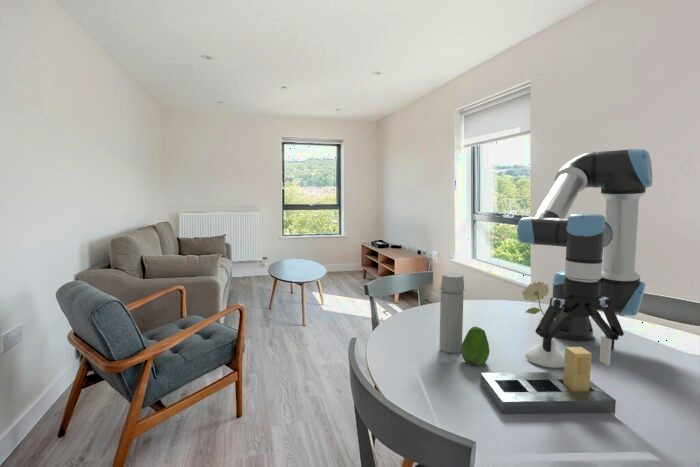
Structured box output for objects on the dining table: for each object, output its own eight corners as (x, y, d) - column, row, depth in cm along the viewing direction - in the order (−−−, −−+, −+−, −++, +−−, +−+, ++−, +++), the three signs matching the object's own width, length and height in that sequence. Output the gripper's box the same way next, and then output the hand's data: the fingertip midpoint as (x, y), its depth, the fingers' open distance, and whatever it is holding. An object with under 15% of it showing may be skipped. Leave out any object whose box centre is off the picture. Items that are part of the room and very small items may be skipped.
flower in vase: (563, 358, 119) (568, 279, 116) (571, 374, 108) (576, 288, 105) (517, 352, 123) (521, 276, 120) (521, 368, 112) (524, 284, 110)
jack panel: (577, 386, 102) (578, 371, 101) (614, 416, 88) (615, 400, 87) (480, 387, 101) (480, 372, 101) (502, 418, 87) (502, 401, 87)
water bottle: (464, 355, 121) (466, 278, 118) (438, 353, 122) (440, 277, 120) (461, 344, 130) (463, 272, 127) (437, 342, 131) (439, 271, 129)
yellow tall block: (578, 392, 96) (581, 346, 95) (590, 402, 92) (593, 354, 91) (562, 392, 96) (565, 346, 95) (573, 402, 92) (576, 354, 90)
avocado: (485, 373, 109) (486, 333, 107) (457, 367, 113) (459, 327, 112) (491, 363, 115) (492, 324, 114) (465, 357, 120) (466, 320, 118)
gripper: (622, 274, 95) (616, 356, 97) (523, 275, 95) (519, 357, 97) (646, 281, 88) (639, 369, 90) (538, 282, 87) (534, 371, 90)
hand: (577, 363), depth 94 cm, fingers open, 13 cm apart
